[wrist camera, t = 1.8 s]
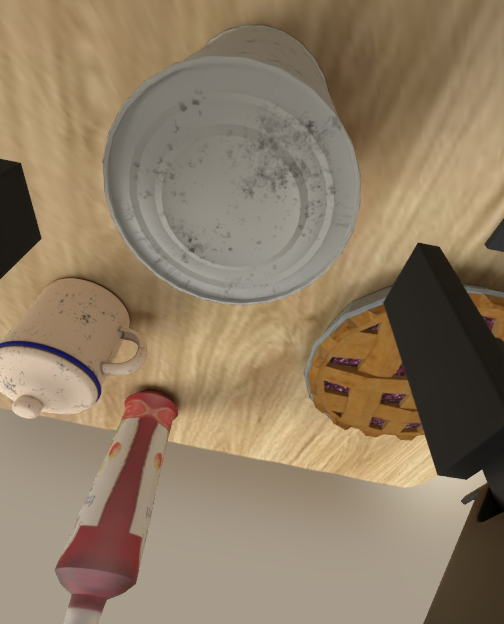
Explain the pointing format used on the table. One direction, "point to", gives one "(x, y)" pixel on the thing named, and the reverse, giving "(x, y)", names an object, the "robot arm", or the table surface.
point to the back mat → (497, 239)
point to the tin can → (234, 170)
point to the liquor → (117, 510)
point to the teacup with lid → (66, 349)
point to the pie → (375, 366)
